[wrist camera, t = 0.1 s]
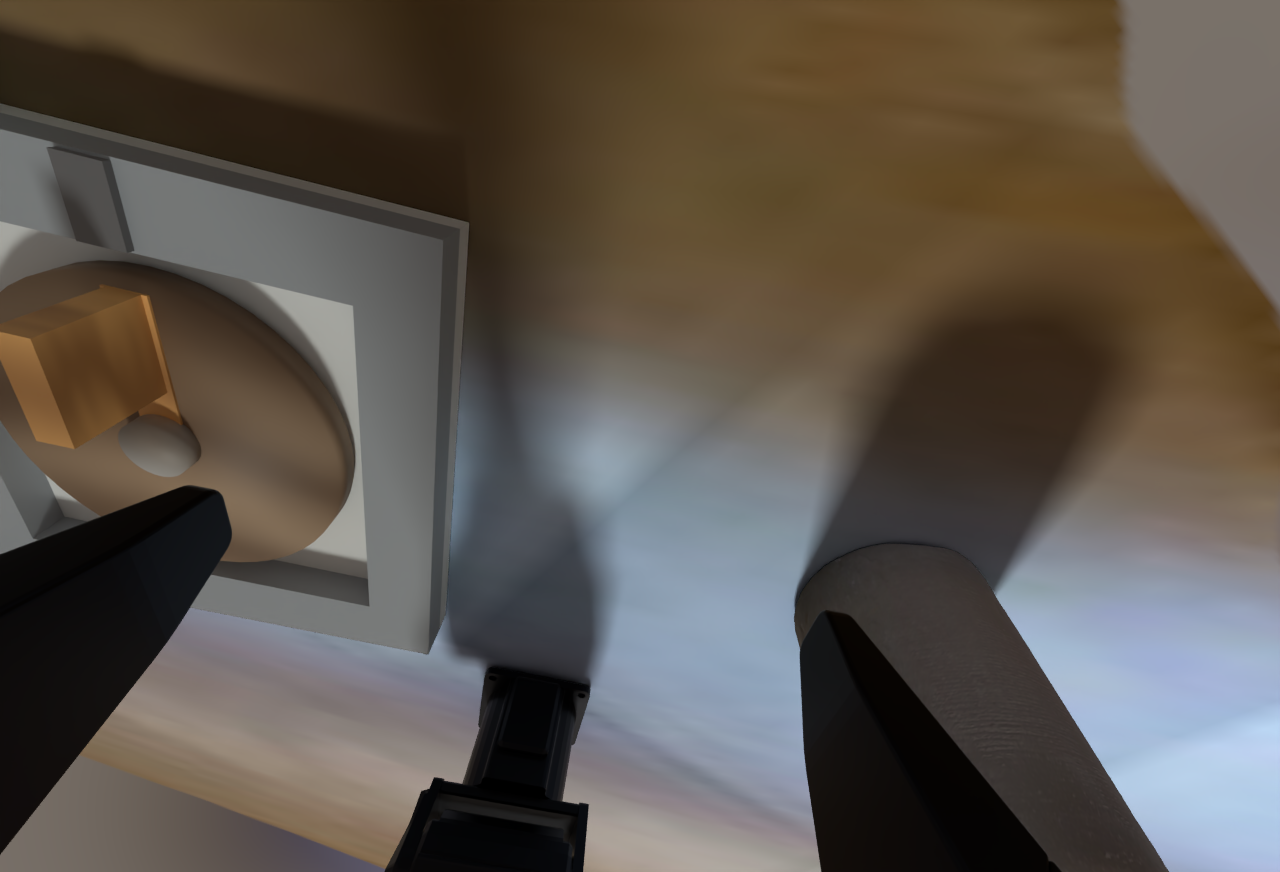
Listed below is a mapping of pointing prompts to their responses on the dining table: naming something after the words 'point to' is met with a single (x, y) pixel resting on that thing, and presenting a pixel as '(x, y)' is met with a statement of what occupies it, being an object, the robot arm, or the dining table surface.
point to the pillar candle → (985, 696)
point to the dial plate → (305, 318)
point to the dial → (170, 402)
